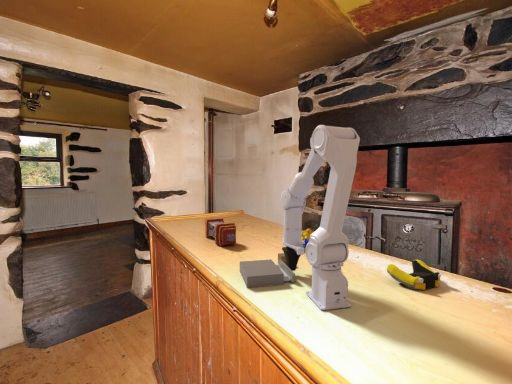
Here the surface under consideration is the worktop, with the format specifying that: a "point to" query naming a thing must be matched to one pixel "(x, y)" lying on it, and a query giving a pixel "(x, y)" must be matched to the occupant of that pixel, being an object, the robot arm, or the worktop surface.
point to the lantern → (220, 231)
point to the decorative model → (306, 237)
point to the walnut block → (282, 257)
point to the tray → (286, 272)
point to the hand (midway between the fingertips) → (291, 270)
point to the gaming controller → (416, 276)
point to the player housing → (261, 273)
